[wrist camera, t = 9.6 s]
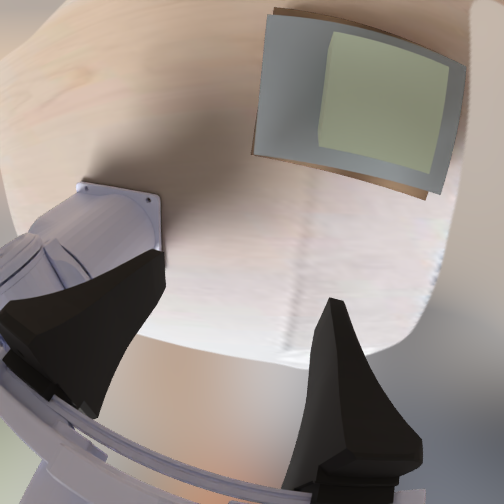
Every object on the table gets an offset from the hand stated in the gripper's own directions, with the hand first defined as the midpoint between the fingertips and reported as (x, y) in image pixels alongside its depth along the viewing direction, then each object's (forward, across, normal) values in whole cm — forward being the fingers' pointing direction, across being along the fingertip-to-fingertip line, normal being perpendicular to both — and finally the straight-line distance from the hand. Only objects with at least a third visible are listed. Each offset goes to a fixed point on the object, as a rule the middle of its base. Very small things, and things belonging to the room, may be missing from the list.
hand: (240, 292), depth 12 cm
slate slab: (+9, -4, -8) cm, 13 cm away
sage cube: (+6, -4, -8) cm, 11 cm away
